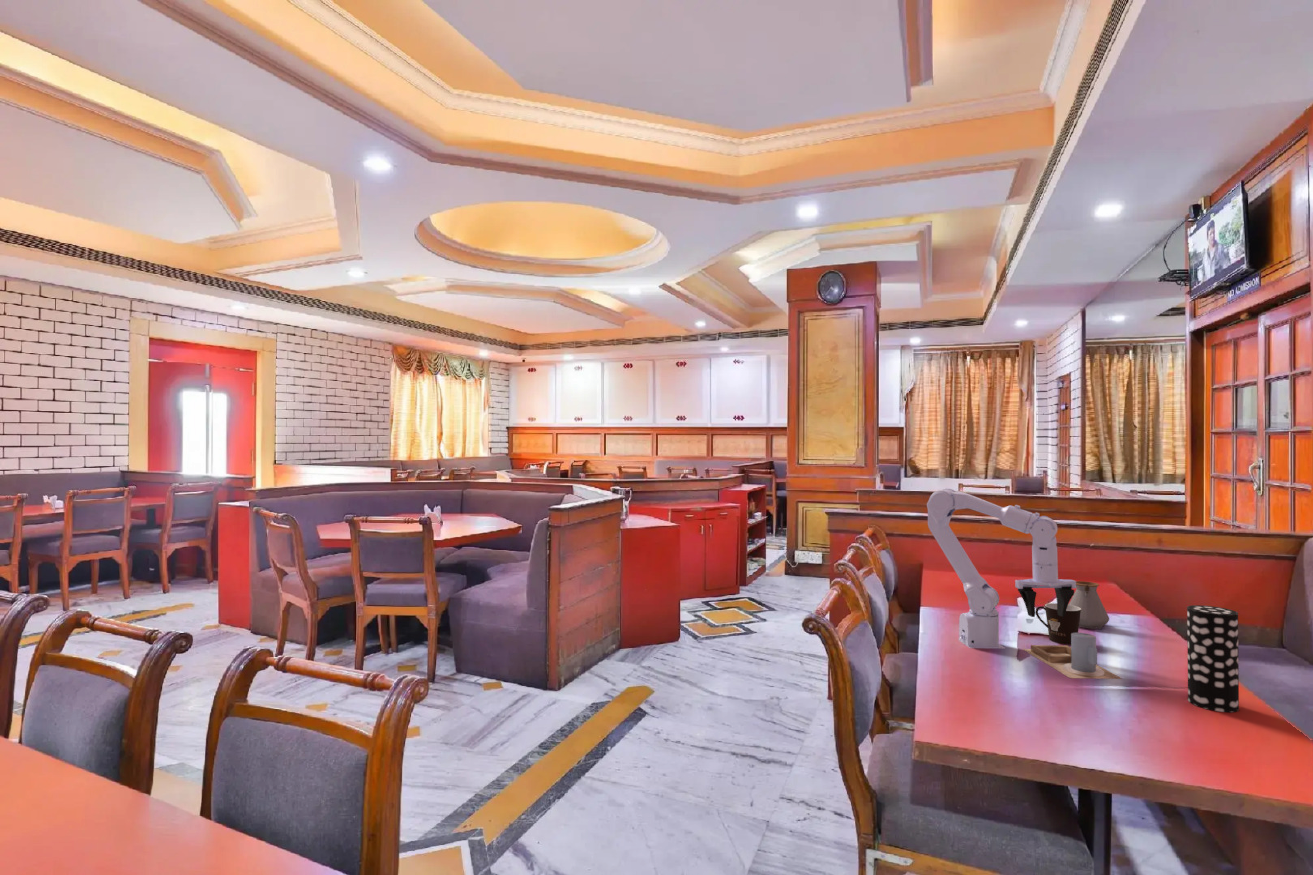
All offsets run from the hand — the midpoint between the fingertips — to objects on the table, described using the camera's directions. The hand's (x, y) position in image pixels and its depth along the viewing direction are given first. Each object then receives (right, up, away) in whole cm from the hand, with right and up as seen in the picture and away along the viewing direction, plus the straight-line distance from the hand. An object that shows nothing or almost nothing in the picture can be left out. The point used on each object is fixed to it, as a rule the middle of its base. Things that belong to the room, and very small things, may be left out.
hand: (1046, 615), depth 174 cm
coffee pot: (+27, -11, +25) cm, 38 cm away
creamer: (+1, -9, -13) cm, 16 cm away
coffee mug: (+11, -11, +13) cm, 20 cm away
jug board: (+1, -10, -7) cm, 13 cm away
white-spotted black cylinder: (+16, -10, -33) cm, 38 cm away
